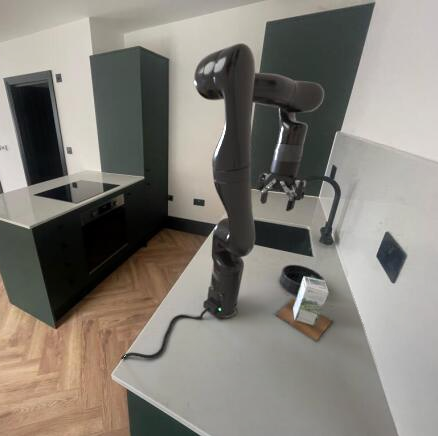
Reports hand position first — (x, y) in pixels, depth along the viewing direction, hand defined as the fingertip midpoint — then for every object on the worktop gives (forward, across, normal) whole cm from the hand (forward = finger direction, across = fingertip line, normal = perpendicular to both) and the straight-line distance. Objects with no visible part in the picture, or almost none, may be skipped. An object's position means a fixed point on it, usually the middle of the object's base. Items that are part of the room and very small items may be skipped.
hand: (275, 206), depth 78 cm
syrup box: (+33, +18, -4) cm, 38 cm away
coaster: (+33, +18, -4) cm, 38 cm away
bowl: (+33, +10, +11) cm, 36 cm away
